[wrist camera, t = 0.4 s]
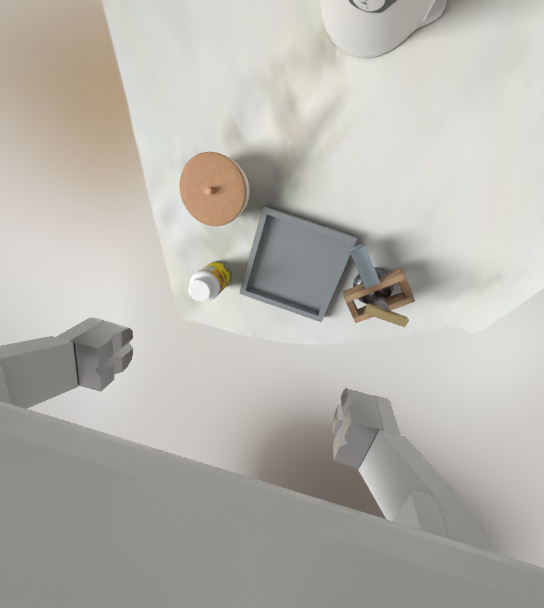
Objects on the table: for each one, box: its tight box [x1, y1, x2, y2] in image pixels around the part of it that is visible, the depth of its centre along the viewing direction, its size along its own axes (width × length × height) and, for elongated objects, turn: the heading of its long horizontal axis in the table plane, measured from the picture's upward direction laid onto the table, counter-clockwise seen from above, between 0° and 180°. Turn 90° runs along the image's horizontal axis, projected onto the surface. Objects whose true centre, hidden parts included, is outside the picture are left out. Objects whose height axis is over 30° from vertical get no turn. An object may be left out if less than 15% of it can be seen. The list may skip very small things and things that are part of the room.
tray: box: [239, 206, 357, 322], centre depth 53 cm, size 17×17×2 cm
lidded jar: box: [180, 152, 250, 226], centre depth 46 cm, size 11×11×9 cm
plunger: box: [353, 268, 409, 327], centre depth 47 cm, size 7×7×14 cm
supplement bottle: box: [189, 262, 231, 301], centre depth 53 cm, size 6×6×10 cm
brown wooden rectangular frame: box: [343, 243, 415, 323], centre depth 47 cm, size 10×12×3 cm
